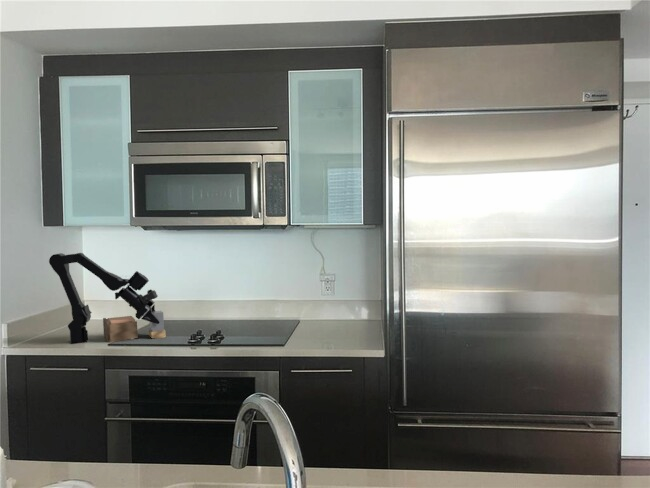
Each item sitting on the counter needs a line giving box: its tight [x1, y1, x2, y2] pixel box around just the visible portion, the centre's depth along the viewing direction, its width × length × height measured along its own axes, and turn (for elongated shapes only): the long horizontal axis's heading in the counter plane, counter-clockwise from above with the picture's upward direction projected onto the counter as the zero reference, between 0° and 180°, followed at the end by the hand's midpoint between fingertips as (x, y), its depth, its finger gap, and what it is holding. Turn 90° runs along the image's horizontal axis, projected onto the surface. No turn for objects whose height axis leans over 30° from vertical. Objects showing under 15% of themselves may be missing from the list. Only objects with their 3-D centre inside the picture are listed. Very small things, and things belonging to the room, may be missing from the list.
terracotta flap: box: [106, 315, 136, 324], centre depth 253 cm, size 10×10×1 cm
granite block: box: [149, 310, 165, 332], centre depth 253 cm, size 5×5×8 cm
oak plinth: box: [148, 329, 167, 339], centre depth 253 cm, size 6×6×3 cm
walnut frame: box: [102, 317, 139, 343], centre depth 253 cm, size 12×13×8 cm
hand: (159, 321), depth 253 cm, fingers closed on granite block, 6 cm apart
